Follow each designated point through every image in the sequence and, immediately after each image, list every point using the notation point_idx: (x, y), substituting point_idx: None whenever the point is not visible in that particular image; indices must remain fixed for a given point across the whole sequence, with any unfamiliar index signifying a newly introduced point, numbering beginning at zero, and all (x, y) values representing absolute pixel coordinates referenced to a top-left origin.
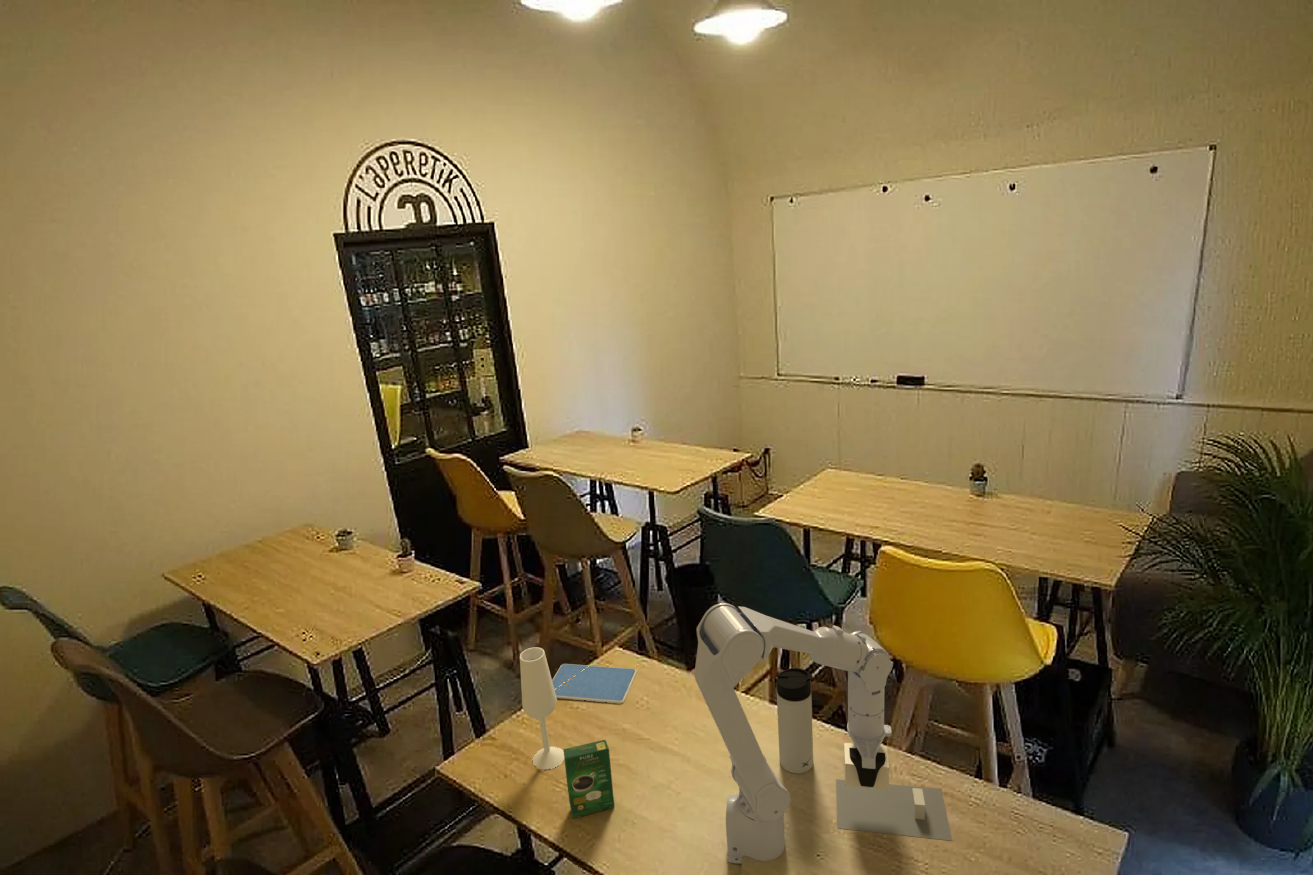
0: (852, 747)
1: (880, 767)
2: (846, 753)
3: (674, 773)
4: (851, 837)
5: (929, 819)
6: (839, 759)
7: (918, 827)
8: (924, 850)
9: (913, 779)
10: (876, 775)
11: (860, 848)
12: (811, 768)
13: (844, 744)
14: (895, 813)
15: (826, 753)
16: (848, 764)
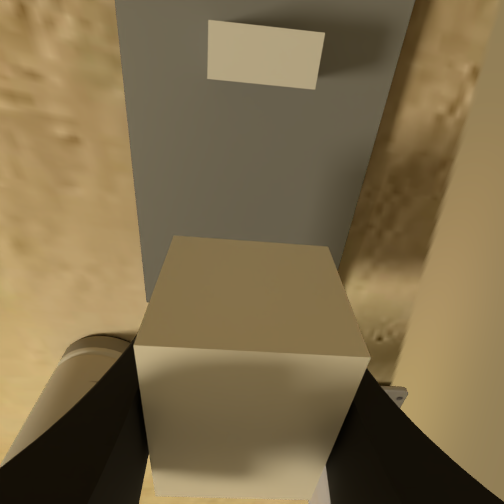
0: (187, 478)
1: (466, 475)
2: (237, 494)
3: (181, 498)
4: (339, 274)
5: (309, 8)
6: (44, 274)
7: (345, 73)
8: (421, 65)
9: (54, 23)
10: (382, 388)
11: (377, 258)
12: (119, 349)
13: (168, 495)
14: (275, 150)
15: (32, 303)
16: (313, 489)
